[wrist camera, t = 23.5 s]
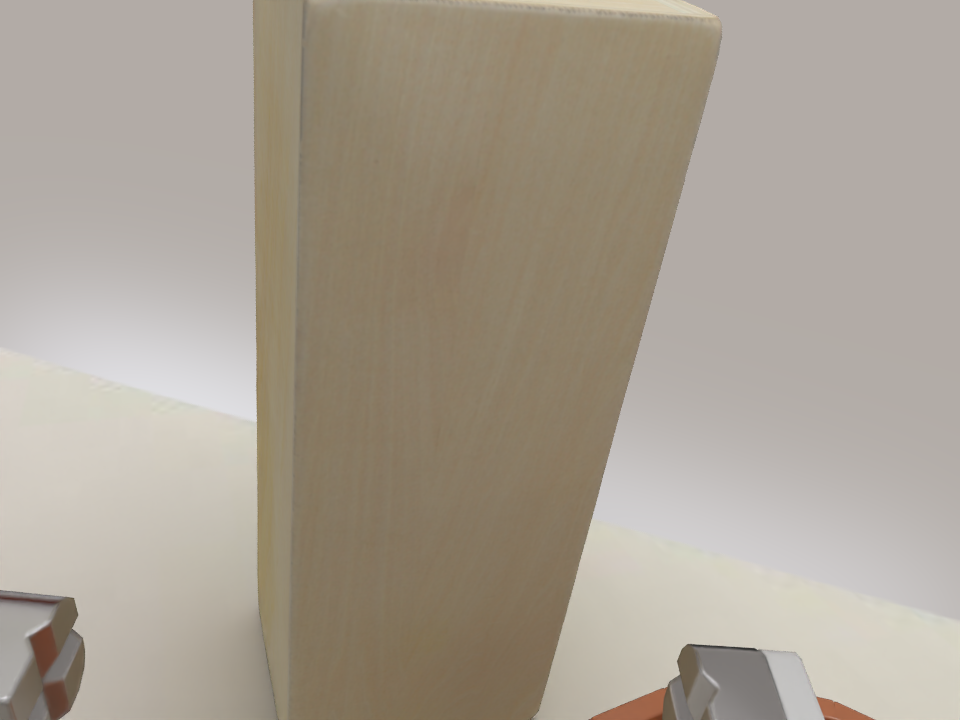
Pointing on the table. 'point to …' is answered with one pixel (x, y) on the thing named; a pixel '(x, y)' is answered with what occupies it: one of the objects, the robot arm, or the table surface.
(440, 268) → the toy refrigerator
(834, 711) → the pot
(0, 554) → the table surface
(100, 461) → the table surface
